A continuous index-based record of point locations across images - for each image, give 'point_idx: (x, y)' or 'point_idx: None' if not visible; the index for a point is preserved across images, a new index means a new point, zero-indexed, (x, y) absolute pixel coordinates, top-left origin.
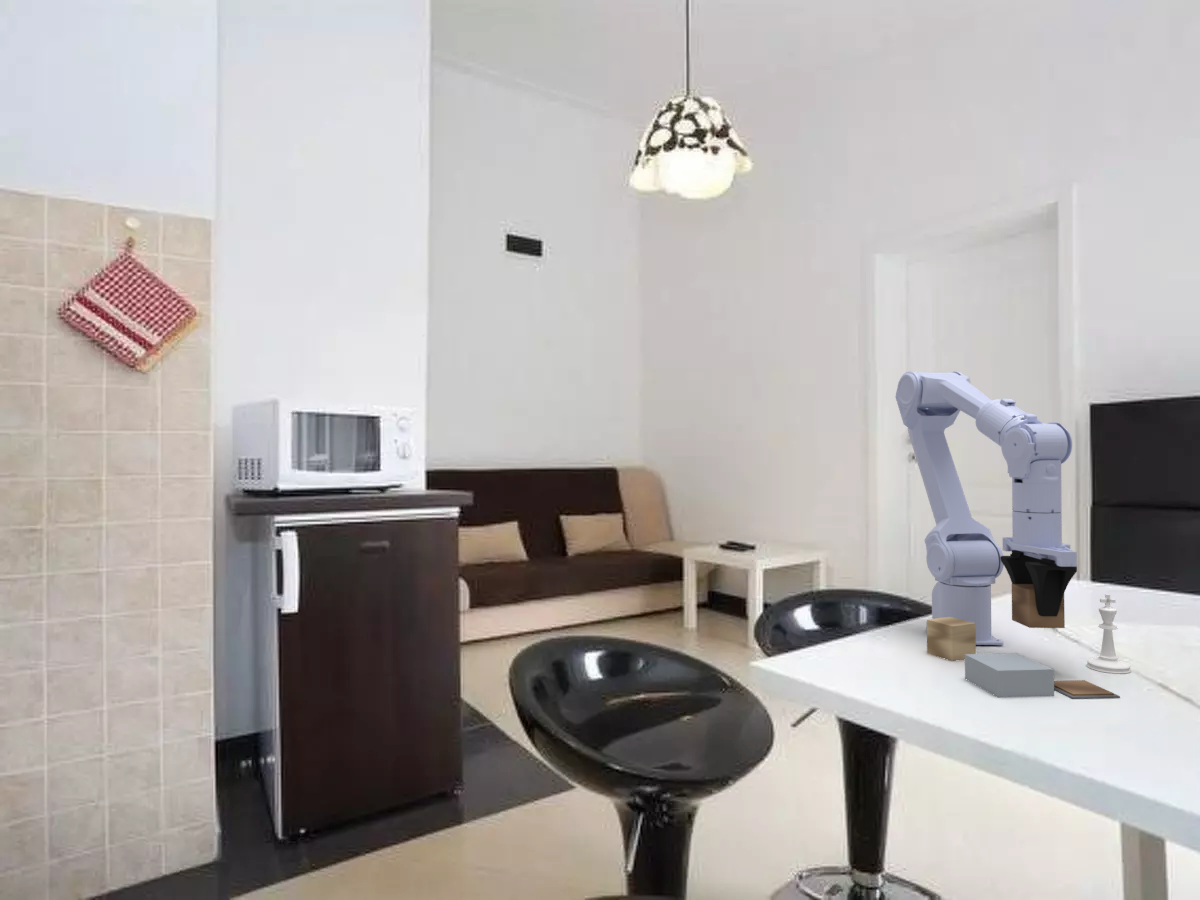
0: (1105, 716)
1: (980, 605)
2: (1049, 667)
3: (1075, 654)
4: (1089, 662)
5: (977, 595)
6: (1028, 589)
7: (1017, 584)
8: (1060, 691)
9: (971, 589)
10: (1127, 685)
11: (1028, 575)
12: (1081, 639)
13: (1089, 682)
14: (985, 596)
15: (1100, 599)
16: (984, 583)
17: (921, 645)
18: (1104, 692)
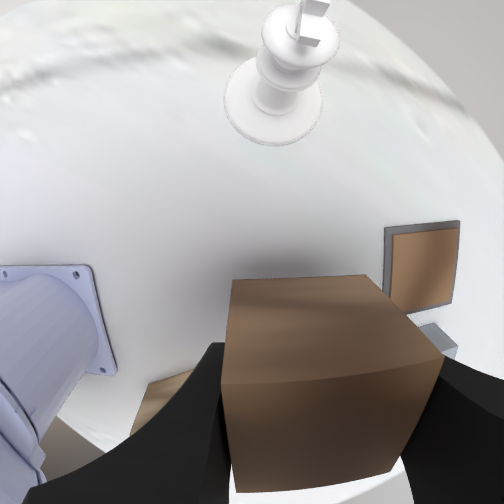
0: (496, 290)
1: (48, 367)
2: (449, 349)
3: (144, 115)
4: (271, 142)
5: (38, 393)
6: (378, 473)
7: (248, 484)
8: (428, 308)
9: (36, 418)
10: (401, 148)
11: (220, 493)
12: (34, 60)
13: (407, 234)
14: (23, 366)
15: (308, 39)
16: (4, 396)
17: (130, 410)
18: (452, 242)
